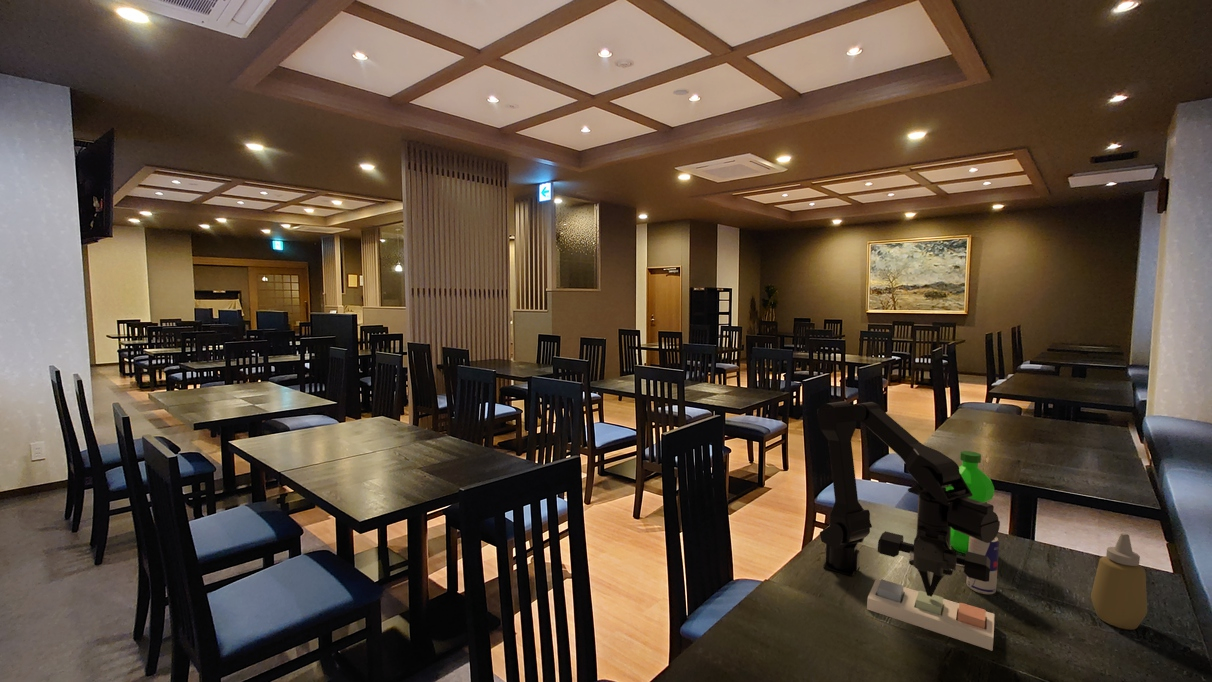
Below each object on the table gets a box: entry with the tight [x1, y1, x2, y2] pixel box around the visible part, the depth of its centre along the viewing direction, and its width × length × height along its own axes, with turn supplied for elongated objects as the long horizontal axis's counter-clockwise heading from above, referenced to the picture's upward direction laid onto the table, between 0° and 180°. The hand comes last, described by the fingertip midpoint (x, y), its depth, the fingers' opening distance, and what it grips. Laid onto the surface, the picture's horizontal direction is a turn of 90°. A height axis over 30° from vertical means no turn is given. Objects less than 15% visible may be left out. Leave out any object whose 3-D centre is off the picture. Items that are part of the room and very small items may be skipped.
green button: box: [916, 590, 944, 615], centre depth 106 cm, size 4×4×2 cm
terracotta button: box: [958, 602, 987, 629], centre depth 102 cm, size 4×4×2 cm
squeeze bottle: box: [1090, 532, 1148, 631], centre depth 104 cm, size 8×8×18 cm
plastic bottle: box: [945, 450, 995, 555], centre depth 133 cm, size 10×10×25 cm
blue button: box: [877, 579, 905, 603], centre depth 110 cm, size 4×4×2 cm
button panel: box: [866, 578, 995, 652], centre depth 106 cm, size 21×9×2 cm, turn 53°
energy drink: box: [965, 536, 1000, 596], centre depth 116 cm, size 5×5×12 cm
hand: (929, 595), depth 106 cm, fingers closed
